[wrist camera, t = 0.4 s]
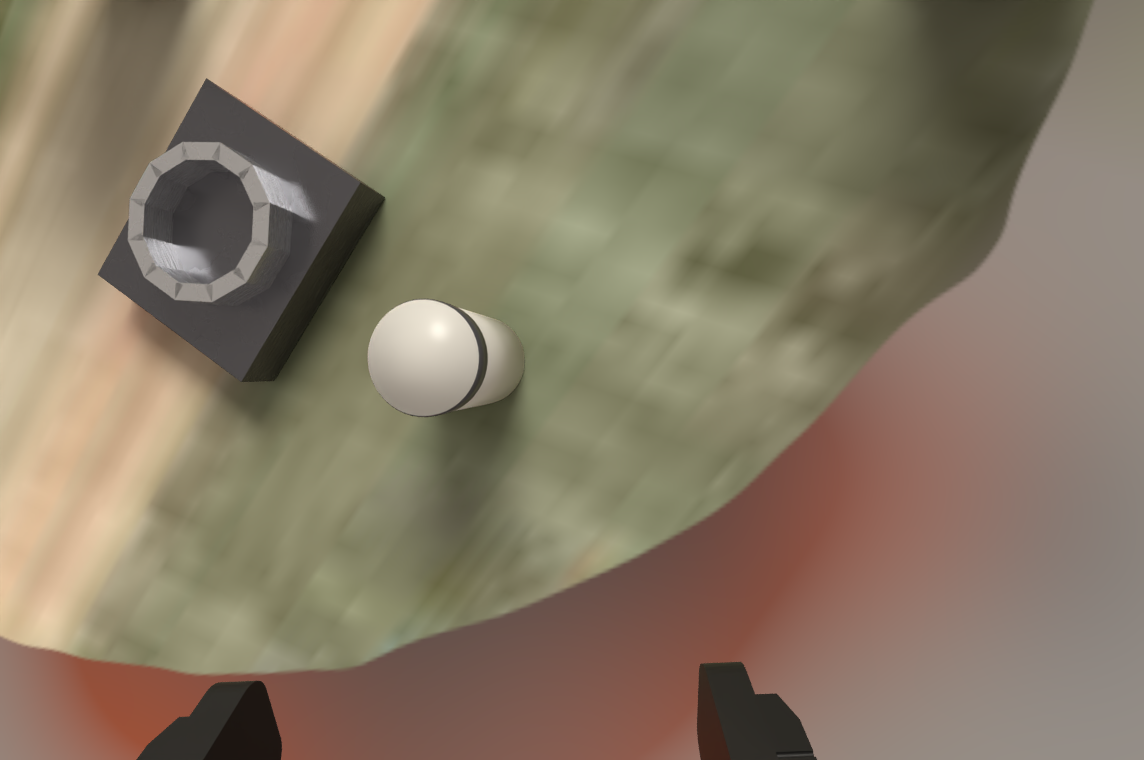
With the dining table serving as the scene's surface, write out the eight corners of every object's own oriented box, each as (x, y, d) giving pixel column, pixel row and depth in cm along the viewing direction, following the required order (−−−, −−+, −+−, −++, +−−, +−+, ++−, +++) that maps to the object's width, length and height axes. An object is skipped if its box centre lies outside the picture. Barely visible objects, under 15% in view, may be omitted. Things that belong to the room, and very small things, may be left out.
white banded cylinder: (470, 298, 36) (406, 275, 27) (542, 348, 35) (501, 341, 26) (423, 372, 36) (345, 373, 27) (494, 422, 35) (437, 440, 27)
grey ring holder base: (242, 101, 38) (178, 60, 33) (385, 197, 36) (341, 170, 31) (140, 281, 39) (65, 269, 34) (274, 380, 38) (215, 382, 33)
